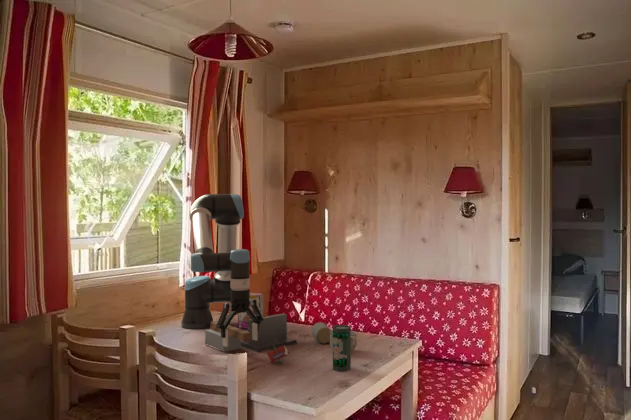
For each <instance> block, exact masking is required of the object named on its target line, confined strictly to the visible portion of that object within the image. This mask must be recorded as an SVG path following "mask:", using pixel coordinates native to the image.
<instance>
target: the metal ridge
mask: <svg viewBox="0 0 631 420" xmlns="http://www.w3.org/2000/svg"><path fill="white" fill-rule="evenodd" d="M287 316H288V315H287V313H279V314H278V313H277V314H272V315H267V316H266V315H265V316H263V317H262V318H263V321H261V323H260V324H259V331H258V340H253V339H252V323H254V322H253V320H252V319H248V329H247V331H248V332H251V340H249V341H241V348H242V347H243V348H245V349H247V350H250V351H253V352H255V353H261V352H264V351H271V350H272V349H273V350H275V348H274V346H273V345H275V347H276V349H277V347H278V348H279V347H281V346H282V345H284V346H285V347H286V346H292V345H296V344H298V339H295V338H292V337H288V336H287V335H288V333H287V331H288V326H287V324H288V323H287V321H288V320H287V319H288V317H287ZM272 346H273V347H272Z"/></svg>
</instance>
